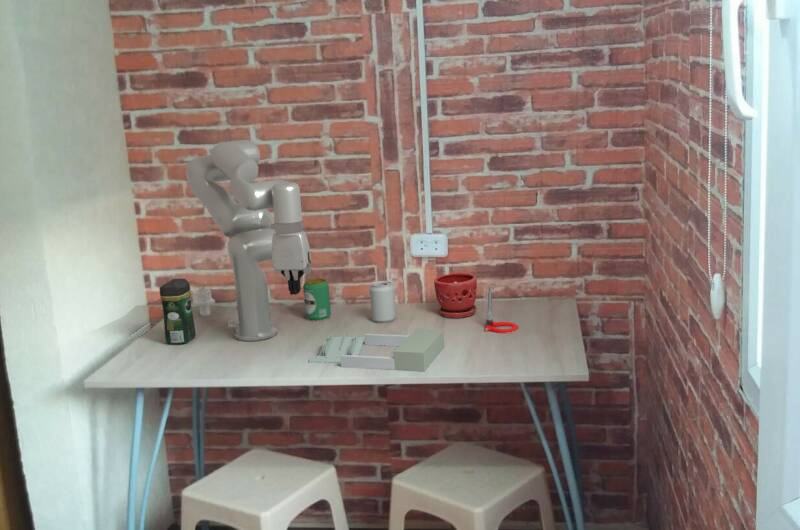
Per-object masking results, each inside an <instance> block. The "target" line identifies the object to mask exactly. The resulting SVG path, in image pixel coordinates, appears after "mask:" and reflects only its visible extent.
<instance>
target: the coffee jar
mask: <svg viewBox="0 0 800 530" xmlns="http://www.w3.org/2000/svg"><path fill="white" fill-rule="evenodd" d="M159 297H160V300H161V305H162V313H163V314H162V315H163V326H164V338H165V342H166V343H167V344H169V345H174V346H175V345H181V344H188V343H189V342H191V341H192V340H193V339H194V338H195V337H196V335H197V334H196V333H197V332H196V327H195V326H196V325H195V321H194V313H193V307H192V300H191V298H192V297H191V287H190V282H189V281H188V280H187V279H186V278H172V279H171V280H169V281H168V282H166V283H164V284H162V285H161V286H159Z"/></svg>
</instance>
